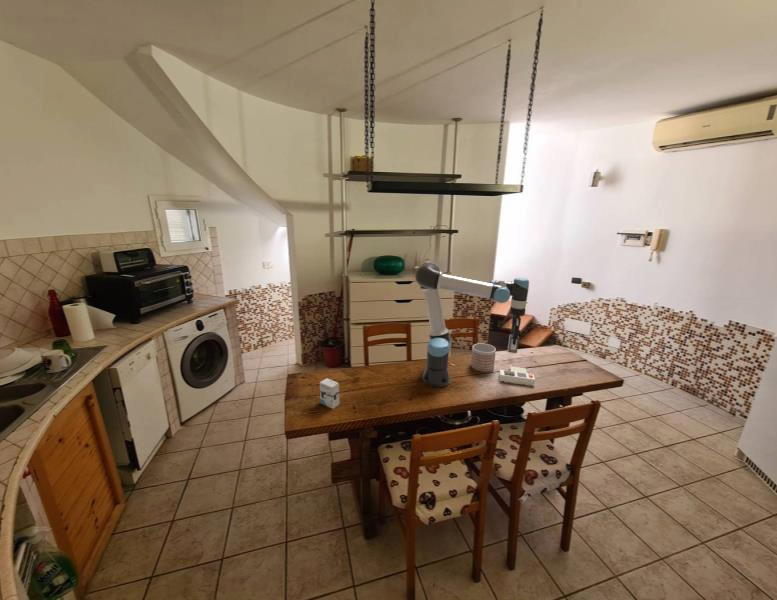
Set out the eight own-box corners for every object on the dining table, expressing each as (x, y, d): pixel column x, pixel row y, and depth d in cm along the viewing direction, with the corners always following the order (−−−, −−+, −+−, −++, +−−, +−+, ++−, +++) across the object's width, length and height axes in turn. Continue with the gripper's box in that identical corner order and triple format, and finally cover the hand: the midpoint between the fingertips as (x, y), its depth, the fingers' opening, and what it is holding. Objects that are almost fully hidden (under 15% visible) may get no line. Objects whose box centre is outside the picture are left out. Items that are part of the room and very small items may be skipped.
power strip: (499, 381, 183) (500, 373, 182) (499, 375, 189) (499, 368, 188) (534, 386, 179) (535, 378, 177) (532, 380, 185) (533, 372, 183)
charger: (508, 352, 179) (510, 336, 176) (507, 349, 183) (509, 334, 180) (516, 353, 178) (518, 337, 175) (515, 350, 182) (518, 334, 179)
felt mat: (511, 374, 191) (511, 373, 191) (509, 367, 200) (510, 366, 200) (527, 376, 189) (527, 375, 189) (525, 369, 197) (525, 368, 197)
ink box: (320, 403, 159) (319, 382, 156) (327, 398, 163) (326, 377, 160) (332, 409, 155) (332, 387, 152) (339, 404, 159) (339, 383, 156)
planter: (473, 360, 208) (474, 341, 205) (495, 364, 203) (497, 345, 199) (468, 369, 197) (470, 349, 193) (491, 374, 191) (494, 354, 187)
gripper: (527, 312, 164) (521, 355, 170) (523, 303, 180) (518, 342, 187) (512, 311, 166) (506, 353, 172) (509, 302, 182) (504, 340, 189)
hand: (512, 347), depth 180 cm, fingers closed on charger, 4 cm apart
